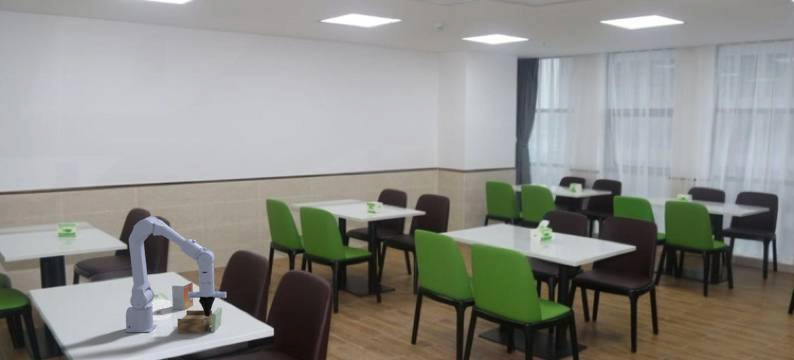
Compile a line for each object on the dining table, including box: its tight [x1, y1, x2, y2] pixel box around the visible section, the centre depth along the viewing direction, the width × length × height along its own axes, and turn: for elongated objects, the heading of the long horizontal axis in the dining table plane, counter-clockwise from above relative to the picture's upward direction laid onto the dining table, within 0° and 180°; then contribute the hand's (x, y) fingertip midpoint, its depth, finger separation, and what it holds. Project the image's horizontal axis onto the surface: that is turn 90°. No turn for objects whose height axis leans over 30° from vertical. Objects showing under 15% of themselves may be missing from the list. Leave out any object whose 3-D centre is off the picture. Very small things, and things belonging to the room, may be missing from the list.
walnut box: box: [177, 309, 213, 334], centre depth 259 cm, size 10×12×6 cm
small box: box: [171, 281, 194, 311], centre depth 287 cm, size 8×6×10 cm
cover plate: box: [210, 307, 223, 333], centre depth 259 cm, size 7×9×2 cm
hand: (207, 315), depth 259 cm, fingers closed
